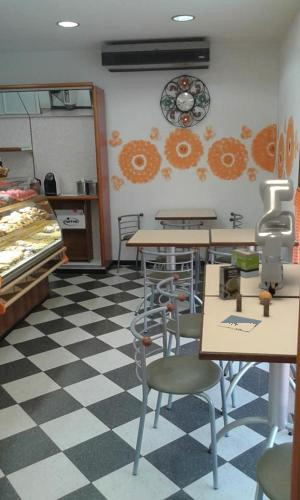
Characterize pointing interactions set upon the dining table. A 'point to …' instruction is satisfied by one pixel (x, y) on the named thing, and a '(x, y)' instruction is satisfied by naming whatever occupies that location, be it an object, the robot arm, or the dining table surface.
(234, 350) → the dining table surface
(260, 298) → the ball
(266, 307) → the post
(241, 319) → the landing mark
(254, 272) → the tea box
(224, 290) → the coffee box
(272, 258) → the robot arm
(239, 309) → the post
